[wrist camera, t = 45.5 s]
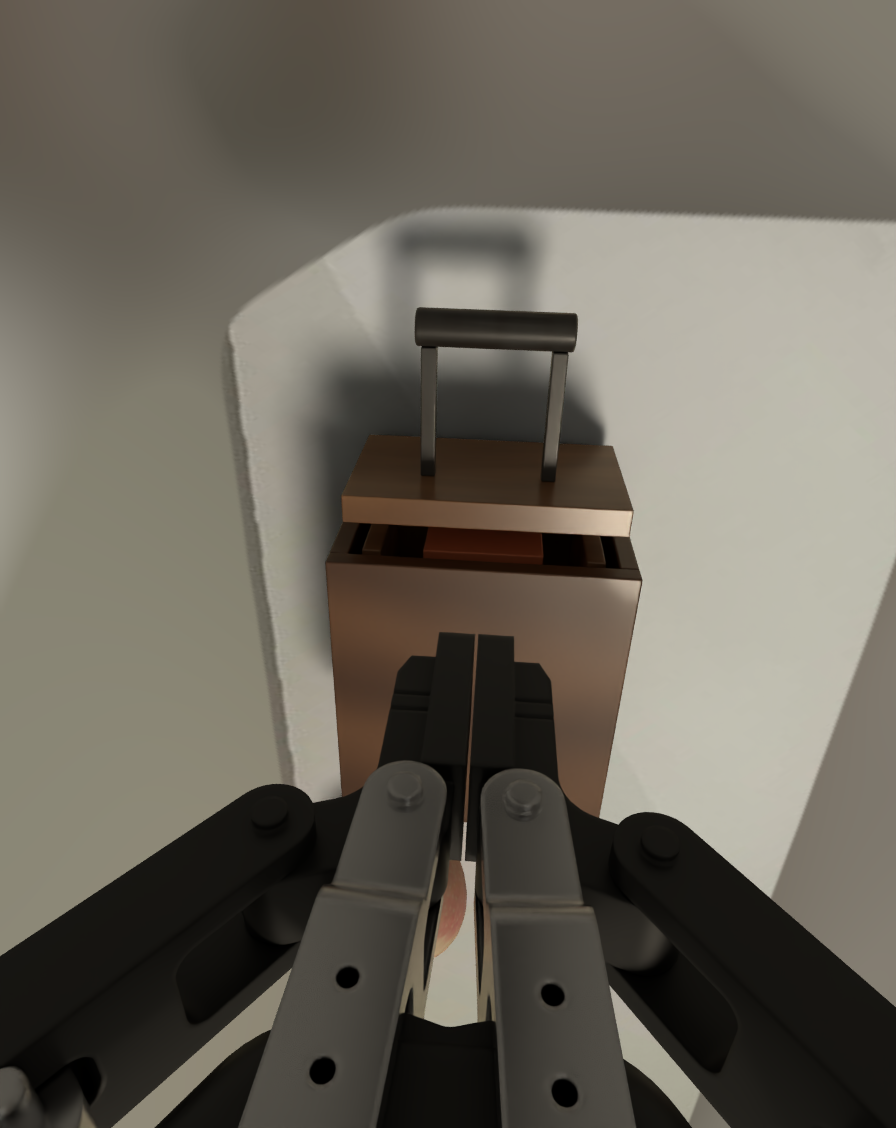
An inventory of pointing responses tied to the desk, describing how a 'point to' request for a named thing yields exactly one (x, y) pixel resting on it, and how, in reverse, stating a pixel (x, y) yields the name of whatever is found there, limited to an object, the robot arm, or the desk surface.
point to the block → (484, 545)
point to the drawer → (490, 459)
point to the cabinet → (477, 606)
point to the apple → (452, 907)
